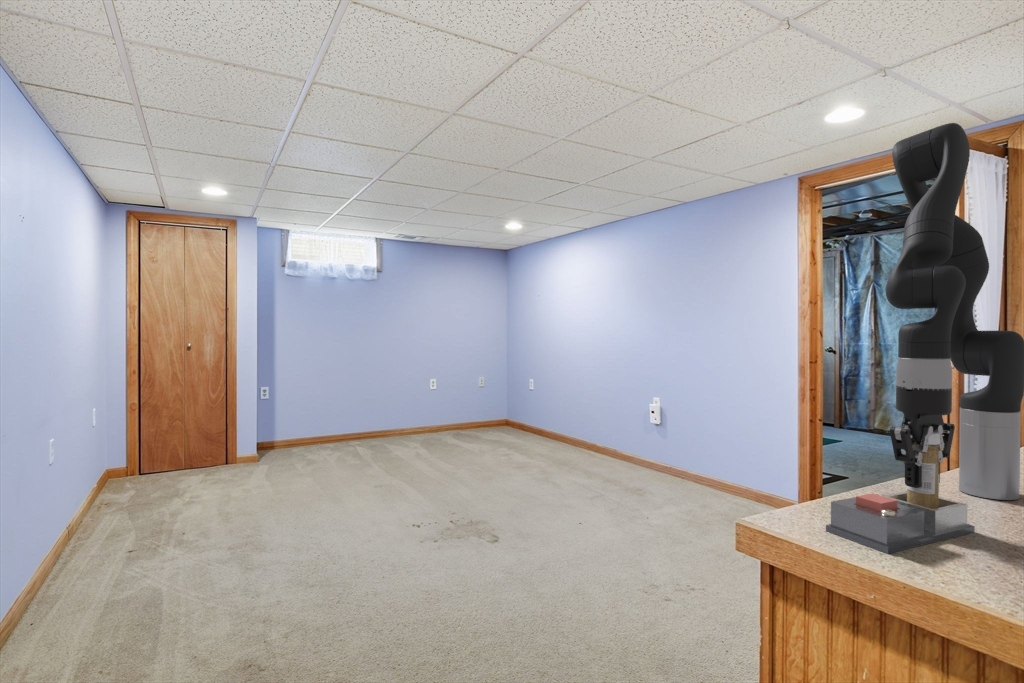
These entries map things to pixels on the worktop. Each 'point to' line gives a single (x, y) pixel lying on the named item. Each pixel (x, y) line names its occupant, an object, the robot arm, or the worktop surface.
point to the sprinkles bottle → (927, 476)
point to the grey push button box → (898, 523)
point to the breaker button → (876, 502)
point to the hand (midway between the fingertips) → (922, 484)
